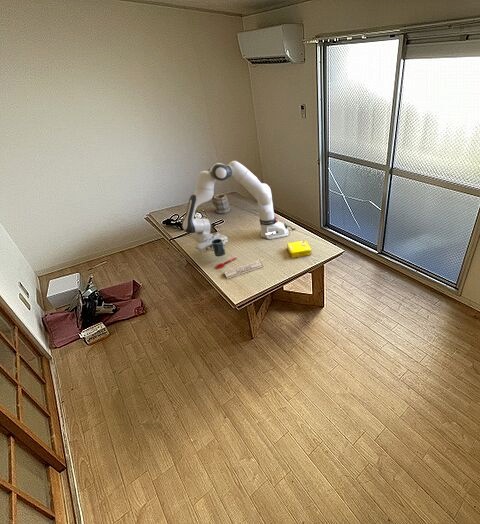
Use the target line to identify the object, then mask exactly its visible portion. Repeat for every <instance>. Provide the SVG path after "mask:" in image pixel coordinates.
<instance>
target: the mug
mask: <svg viewBox="0 0 480 524" xmlns="http://www.w3.org/2000/svg"><path fill="white" fill-rule="evenodd" d="M211 243H212V246H213V248H214V250H215V251H213V254H214V256H215V257H219V258H220V257H223V256H225V255H226V250H225V246H223V242H222V240H221V239H215V240H213V241H212V242H211Z"/></svg>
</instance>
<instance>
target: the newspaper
mask: <svg viewBox="0 0 480 524" xmlns="http://www.w3.org/2000/svg"><path fill="white" fill-rule="evenodd" d="M261 268H263V265H262V263H261V262H260V260H255V261H253V262H250V263H248V264H244V265H241V266H238V267H234V268H231V269H228V270H226V271H223V275H224V276H225V277H226V279H227V280H228V279H232V278H234V277H237V276H240V275H243V274H246V273H249V272H252V271H255V270H257V269H261Z"/></svg>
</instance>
